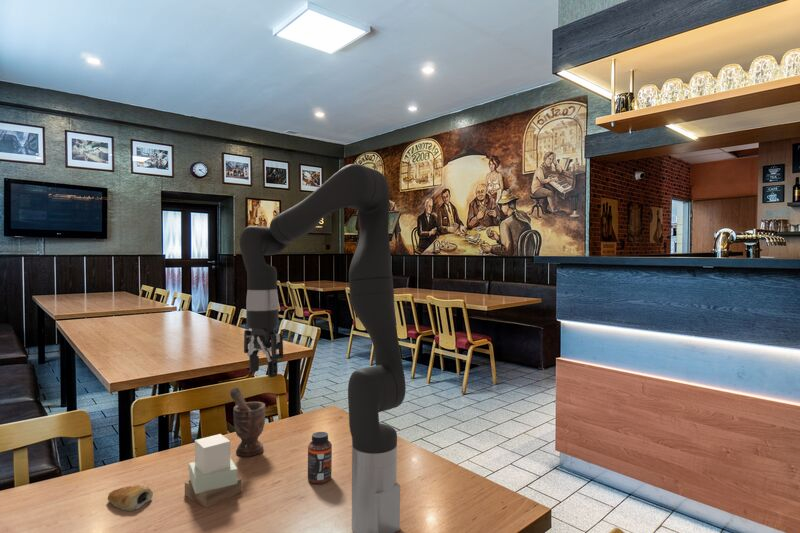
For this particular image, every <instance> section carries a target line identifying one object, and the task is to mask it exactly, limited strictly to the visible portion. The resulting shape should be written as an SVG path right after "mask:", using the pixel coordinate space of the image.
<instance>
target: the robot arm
mask: <svg viewBox="0 0 800 533" xmlns="http://www.w3.org/2000/svg"><path fill="white" fill-rule="evenodd" d="M389 187H390V186H389V182H388V180H387V178H386V177H385V175H384V174H383V173H381V171H379V170H376V169H373V168H371V167H368V166H366V165H362V164H359V163H358V164H357V163H350V164H347V165H345V166H343V167H342V168H341V169H339V170H338V171H337V172H335V173H333V175H331V177H329V178H328V179H327V180H326V181H325V182H324V183H322V184H321V185H320V186H319V187H318V188H317V189H315V190H314V191H313V192H312V193H311V194H309V195H307V197H305V198H304V199H303V200H301V201H300V202H298V203H297V204H295V205H293V206H292V207H290V208H288V209H286V210H285V211H282V212H280V213H279V214H277V215H276V216H274V217H273V218H272V220H271V221H270V223H269V226H262V225H261V226H260V225H259V226H258V225H249V226H246V227H245V228H244V229H243V230H242V231H241V233H240V236H239V249H240V252H241V256H242V260H243V264H244V267H245V272H246V273H247V274H246V276H247V277H246V278H247V279H246V280H247V282H246V283H247V285H246V286H247V288H246V289H247V290H246V291H247V292H246V301H245V302H246V309H245V310H246V327H247V328H248V329H245V330H244V331H243V333H244V334H243V335H244V336H243V352H244V354H246V355H247V357H248V358H249V359H248V360H249V365H248V366H249V372H251V373H255V372H258V371H259V370H260V360H259V358H260V357H259V354H260V352H261V351H262V354H263V355H265V357H266V359H267V377H268V378H275V377H277V376H278V368H279V367H278V361H279V360H283V359H284V338H283V334H282V333H276V334H275V328H277V327H278V326H279V294H278V271H277V268H276V266H273V265H270V264H267V263H266V260H265V257H264V256H274V255H277V254H280V253H281V252H282V251H284V250H285V249H286V248H288V246H289V245H290V244H291V243H292V242H294V241H297V240H298V239H300V238H302V237H304V236H306V235H308V234H309V233H311V232H312V231H313V230H314V229H316V228H317V226H318V225H319V224H320V222H321V221H322V220H323V218H324V217H326V216H328V215H329V214H331V213H333V212H335V211H338V210H342V209H346V208H349V209H353V210H357V214H358V222H359V223H358V224H359V236H358V237H359V238H358V242H357V246H356V248H355V251H354V254H353V256H352V259H351V262H350V265H349V269H348V270H349V271H348V286H349V297H350V305H351V307H352V309H353V311H354V313H355V315H356V317H357V318H358V320H359V321H360V323H361V325H363V327H364V329H365V331H366V332H367V333H368V335H369V337H370V339H371V343H372V345H373V346H372V347H373V352H374V358H375V365H373V366H368V367H363V368H359V369H356V370H354V371H353V372H352V373H351V375H350V376H349V380H348V383H347V384H348V385H347V386H348V387H347V402H348V404H347V406H348V425H349V432H350V436H351V441H352V442H351V444H352V445H351V449H352V450H351V531H352V533H397V532H399V531H400V530H401V528H400V527H401V523H400V522H401V485H400V483H398V481H397V478H398V477H397V475H398V474H397V472H398V470H397V469H398V468H397V467H398V466H397V465H398V462H397V461H398V433H397V431H396V429H395V428H394V427H392V426H391V425H388V424H384V423H381V422H380V417H379V413H381V412H385V411H388V410H393V409H395V408H398V407H400V406H401V404H403V402H404V400H405V396H406V387H407V386H406V377H405V371H404V365H403V360H402V354H401V348H400V342H399V335H398V329H397V328H398V327H397V319H396V310H395V309H396V307H395V290H394V279H393V271H392V259H391V258H392V257H391V243H390V229H389V228H390V226H389V224H390V188H389Z"/></svg>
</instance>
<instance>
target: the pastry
mask: <svg viewBox="0 0 800 533" xmlns="http://www.w3.org/2000/svg"><path fill="white" fill-rule="evenodd" d="M153 494H154V493H153V490H152V489H151V488H150V487H148V486H147V487H145V486H143V485H140V484H136V485H129V486H128V485H127V486H125V487H124V486H123V487H120V488H117V489H114V490H112V491H110V492H109V493H108V496H107V501H108V502H109V503H110V502H111V503H110V504H112V506H114V508H115V507H117V508H116V509H119V508H120V509H119V510H122V511H125V510H126V512H133V510H134V511H135V509H136V510H138V509H140V508H142V506H144V505H145V504H147V503H148V502H150V501H151V500H152V498H153Z"/></svg>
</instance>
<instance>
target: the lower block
mask: <svg viewBox="0 0 800 533" xmlns="http://www.w3.org/2000/svg"><path fill="white" fill-rule="evenodd" d="M242 480H243V479H242V478H241V477H238V476H237V484H234V485H230V486H226V487H222V488H218V489H214V490H209V491H205V492H202V493H197V494H195V491H194V489H193V486H192V483H191V481H190V479H189V480H187V481H185V482H184V496H186V497H187V498H189V499H191V500H193V501H194V502H196V503H198V504H200V505H201V506H203V507H205V508H209V507H211V506H213V505H216V504H218V503H220V502H222V501H224V500H226V499H229V498H230V497H233V496H235V495H237V494H238V493H240V492H242V491H243V490H242V488H243V487H242V484H243V483H242Z"/></svg>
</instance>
